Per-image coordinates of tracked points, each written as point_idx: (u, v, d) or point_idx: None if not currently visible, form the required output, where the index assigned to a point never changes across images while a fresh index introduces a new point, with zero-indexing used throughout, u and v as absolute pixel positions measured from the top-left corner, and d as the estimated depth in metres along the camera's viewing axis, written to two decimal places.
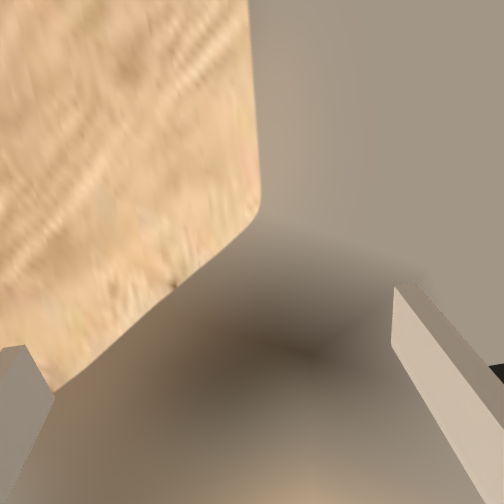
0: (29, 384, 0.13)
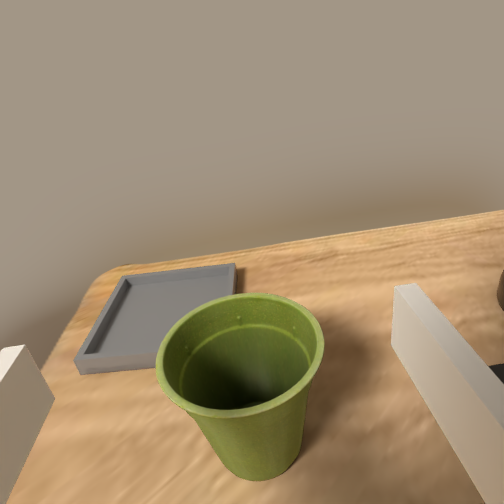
0: (29, 384, 0.13)
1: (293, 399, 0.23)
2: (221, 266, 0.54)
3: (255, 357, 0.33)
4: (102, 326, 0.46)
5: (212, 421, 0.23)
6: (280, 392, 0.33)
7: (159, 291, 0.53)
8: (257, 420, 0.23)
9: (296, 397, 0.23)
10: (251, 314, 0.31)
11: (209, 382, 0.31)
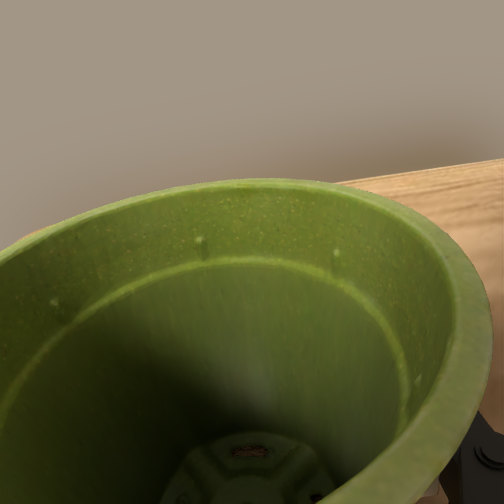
0: None
1: None
2: None
3: (240, 335, 0.15)
4: None
5: None
6: (295, 415, 0.15)
7: None
8: None
9: None
10: (229, 231, 0.13)
11: (129, 393, 0.13)
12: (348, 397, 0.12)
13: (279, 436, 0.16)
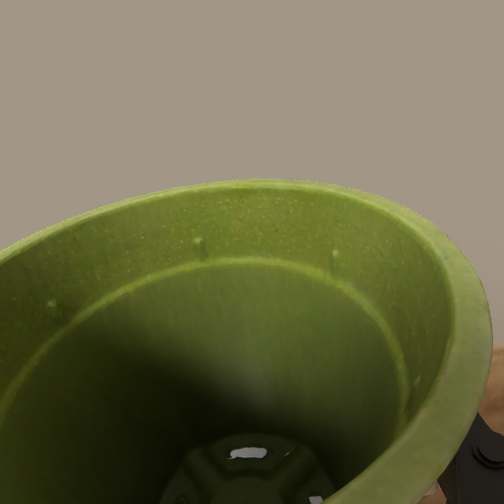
0: None
1: None
2: None
3: (238, 336, 0.15)
4: None
5: None
6: (294, 416, 0.15)
7: None
8: None
9: None
10: (228, 232, 0.13)
11: (127, 394, 0.13)
12: (347, 398, 0.12)
13: (278, 437, 0.16)
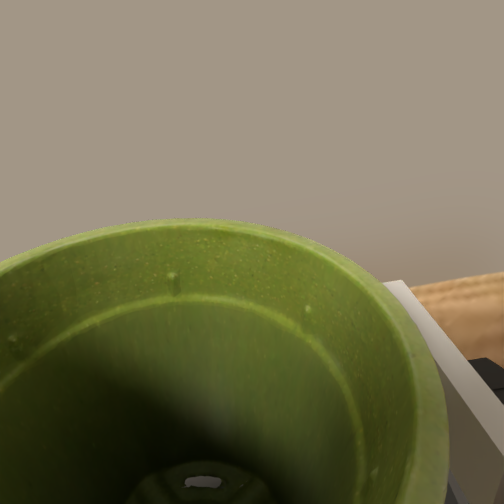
0: None
1: None
2: None
3: (204, 370, 0.15)
4: None
5: None
6: (251, 450, 0.15)
7: None
8: None
9: None
10: (203, 270, 0.13)
11: (85, 425, 0.13)
12: (305, 446, 0.12)
13: (234, 467, 0.16)
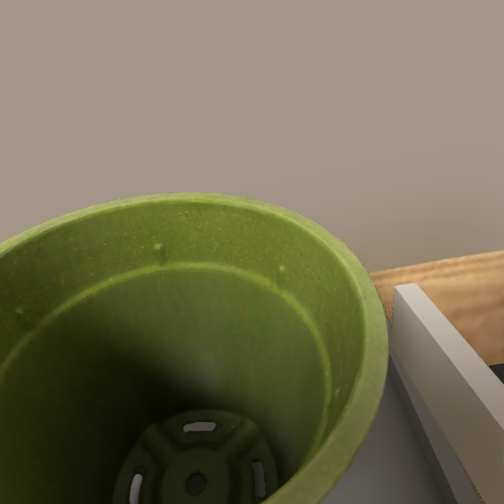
0: None
1: None
2: None
3: (193, 329, 0.16)
4: None
5: None
6: (240, 396, 0.17)
7: None
8: None
9: None
10: (186, 240, 0.14)
11: (91, 384, 0.15)
12: (286, 386, 0.14)
13: (226, 412, 0.18)
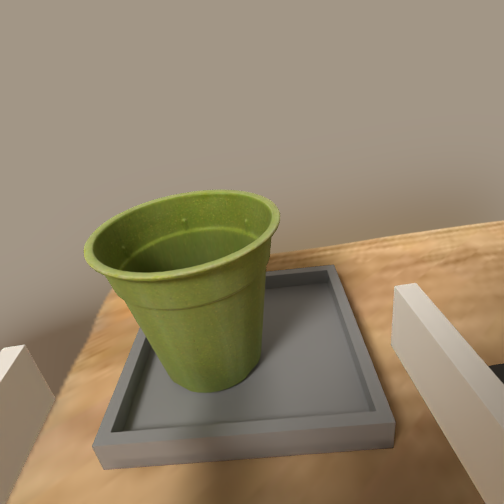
0: (29, 384, 0.13)
1: (248, 265, 0.20)
2: (314, 269, 0.35)
3: None
4: (137, 370, 0.27)
5: (154, 295, 0.19)
6: None
7: None
8: (208, 288, 0.19)
9: (252, 264, 0.20)
10: (198, 215, 0.28)
11: None
12: None
13: None
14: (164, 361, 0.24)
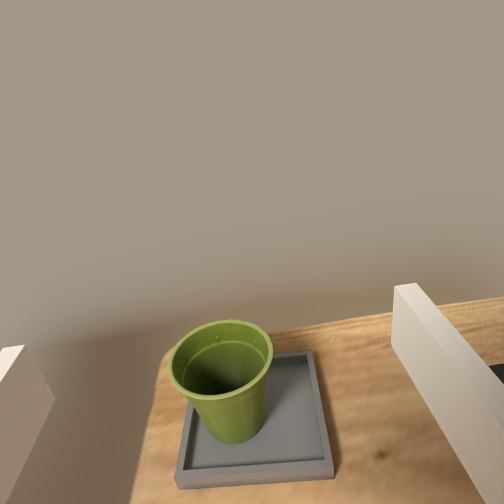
0: (29, 384, 0.13)
1: (256, 385, 0.39)
2: (298, 354, 0.53)
3: (229, 363, 0.48)
4: (191, 429, 0.45)
5: (208, 403, 0.38)
6: None
7: None
8: (235, 400, 0.38)
9: (258, 384, 0.39)
10: (225, 334, 0.47)
11: (199, 383, 0.46)
12: None
13: None
14: (209, 427, 0.43)
